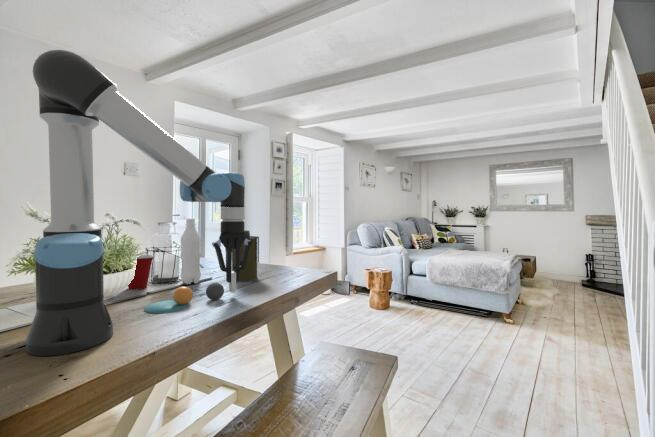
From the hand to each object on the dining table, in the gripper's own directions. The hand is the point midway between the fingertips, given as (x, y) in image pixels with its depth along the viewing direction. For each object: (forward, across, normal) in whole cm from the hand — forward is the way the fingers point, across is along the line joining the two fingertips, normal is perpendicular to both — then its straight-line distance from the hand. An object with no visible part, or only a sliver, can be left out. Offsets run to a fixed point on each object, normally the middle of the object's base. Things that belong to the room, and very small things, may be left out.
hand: (232, 291), depth 106 cm
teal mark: (+2, +20, 0) cm, 20 cm away
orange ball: (-1, +15, 0) cm, 15 cm away
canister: (+2, -12, -23) cm, 26 cm away
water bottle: (+2, +8, -27) cm, 29 cm away
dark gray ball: (-1, +6, 0) cm, 6 cm away
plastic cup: (+2, +26, -30) cm, 39 cm away
